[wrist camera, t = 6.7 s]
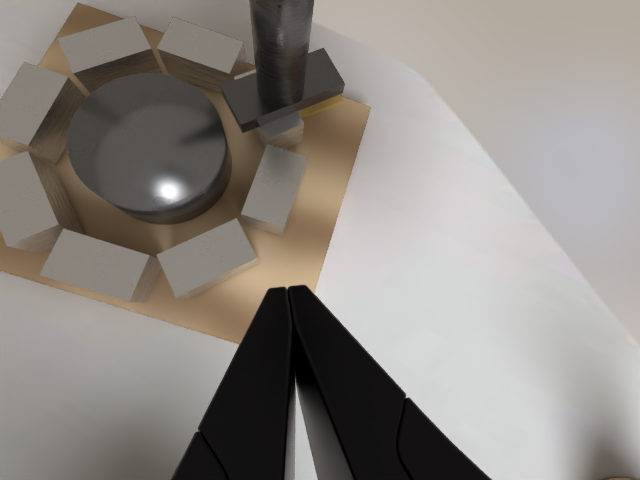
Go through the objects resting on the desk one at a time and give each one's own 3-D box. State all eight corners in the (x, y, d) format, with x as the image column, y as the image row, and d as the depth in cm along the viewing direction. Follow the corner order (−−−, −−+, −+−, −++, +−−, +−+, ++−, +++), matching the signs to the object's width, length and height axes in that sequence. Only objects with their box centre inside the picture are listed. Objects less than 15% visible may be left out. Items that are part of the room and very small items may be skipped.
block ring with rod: (385, 200, 19) (525, 56, 8) (79, 353, 16) (-384, 449, 5) (273, 6, 21) (267, -316, 10) (-24, 100, 17) (-518, -248, 7)
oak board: (292, 358, 18) (293, 361, 17) (-57, 250, 17) (-83, 245, 16) (367, 113, 22) (373, 101, 21) (88, 14, 21) (76, -5, 20)
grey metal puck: (205, 241, 18) (190, 227, 15) (78, 200, 17) (37, 178, 14) (249, 132, 19) (244, 101, 16) (134, 93, 19) (108, 53, 16)
